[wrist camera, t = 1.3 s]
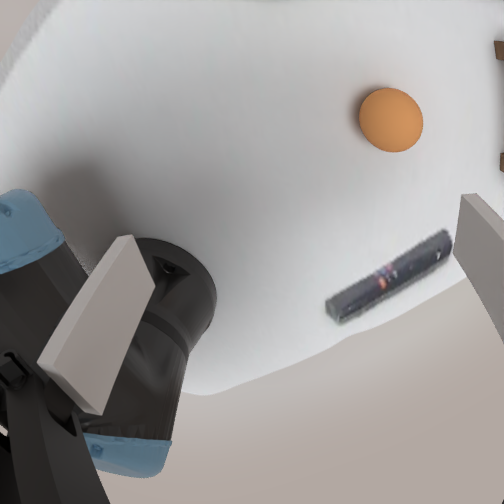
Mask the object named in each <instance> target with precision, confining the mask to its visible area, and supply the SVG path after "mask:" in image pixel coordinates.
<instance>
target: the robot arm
mask: <svg viewBox="0 0 504 504" xmlns="http://www.w3.org/2000/svg"><path fill="white" fill-rule="evenodd" d="M453 255H454V256H455V258H456V259H457V261H458V262H459V264H460V266H461V267H462V269H463V270H464V272H465V274H466V275H467V277H468V278H469V280H470V282H471V283H472V285H473V287H474V289H475V290H476V292H477V294H478V296H479V297H480V299H481V301H482V303H483V304H484V306H485V308H486V310H487V312H488V314H489V315H490V317H491V319H492V321H493V323H494V325H495V327H496V329H497V331H498V333H499V335H500V337H501V339H502V341H503V343H504V220H503V219H502V218H501V217H500V216H499V215H498V214H497V213H496V212H495V211H494V210H493V209H492V208H491V207H490V206H489V205H488V204H487V203H486V202H485V201H484V200H483V199H482V198H481V197H480V196H479V195H478V194H477V193H476V194H462V195H461V202H460V210H459V217H458V224H457V231H456V237H455V243H454V249H453ZM216 298H217V296H216V289H215V285H214V283H213V280H212V278H211V277H210V275H209V273H208V272H207V270H206V269H205V268H204V267H203V265H202V264H201V263H200V262H199V261H198V260H196V259H195V258H194V257H193V256H192V255H190V254H189V253H187V252H186V251H184V250H182V249H181V248H179V247H177V246H174V245H172V244H169V243H167V242H163V241H159V240H154V239H134V237H133V234H131V235H125V236H119V237H117V238H116V240H115V241H114V242H113V244H112V245H111V246H110V248H109V249H108V250H107V252H106V253H105V255H104V256H103V257H102V259H101V260H100V262H99V263H98V265H97V266H96V267H95V269H94V270H93V272H92V273H91V275H90V276H89V277H88V275H87V274H86V272H85V271H84V269H83V268H82V266H81V265H80V263H79V262H78V260H77V259H76V257H75V256H74V254H73V253H72V251H71V250H70V248H69V246H68V245H67V243H66V242H65V237H64V235H63V233H62V231H61V230H60V229H58V228H56V226H55V225H54V223H53V222H52V220H51V219H50V217H49V216H48V214H47V213H46V211H45V209H44V208H43V206H42V205H41V203H40V201H39V200H38V199H37V197H36V196H35V195H34V194H32V193H31V192H29V191H27V190H24V189H14V190H11V191H8V192H6V193H4V194H3V195H1V196H0V425H1V426H3V427H4V428H5V429H6V430H7V431H8V434H7V436H4V435H3V434H2V433H1V432H0V504H110V502H109V500H108V497H107V495H106V493H105V491H104V488H103V486H102V484H101V481H100V479H99V476H98V474H97V471H96V469H98V470H101V471H105V472H109V473H113V474H118V475H123V476H129V477H136V478H148V477H153V476H155V475H157V474H158V473H159V472H161V470H162V469H163V466H164V463H165V460H166V457H167V454H168V451H169V448H170V446H171V444H172V441H171V436H172V431H173V426H174V421H175V416H176V411H177V406H178V402H179V397H180V393H181V388H182V383H183V379H184V374H185V370H186V365H187V361H188V357H189V354H190V352H191V351H192V349H193V348H194V346H195V345H196V343H197V342H198V340H199V339H200V337H201V336H202V334H203V333H204V332H205V331H206V330H207V328H208V327H209V325H210V324H211V321H212V319H213V316H214V311H215V306H216ZM502 504H504V500H503V502H502Z"/></svg>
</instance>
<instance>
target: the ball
mask: <svg viewBox="0 0 504 504" xmlns="http://www.w3.org/2000/svg"><path fill="white" fill-rule="evenodd" d="M359 122H360V126H361V129H362V132H363V134H364V135H365V137H366V138H367V140H368V141H369V142H370V143H371V144H373V145H374V146H375V147H377V148H379V149H381V150H383V151H387V152H401V151H405V150H407V149H409V148H410V147H412V146H413V145H414V144H415V143H416V142H417V141H418V139H419V138H420V136H421V133H422V129H423V117H422V113H421V110H420V108H419V106H418V105H417V103H416V102H415V101H414V100H413V98H412V97H410V96H409V95H408V94H406V93H405V92H403V91H400V90H398V89H393V88H384V89H379V90H376V91H374V92H373V93H371V94H370V95H369V96H368V97H367V98H366V99H365V100H364V102H363V103H362V106H361V109H360V113H359Z"/></svg>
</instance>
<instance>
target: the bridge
mask: <svg viewBox="0 0 504 504" xmlns="http://www.w3.org/2000/svg"><path fill="white" fill-rule="evenodd" d="M494 44H495V51H496V58H497V59H499V60H504V42H502V41H494ZM500 170H501V171H502V172H504V153H501V158H500Z"/></svg>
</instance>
